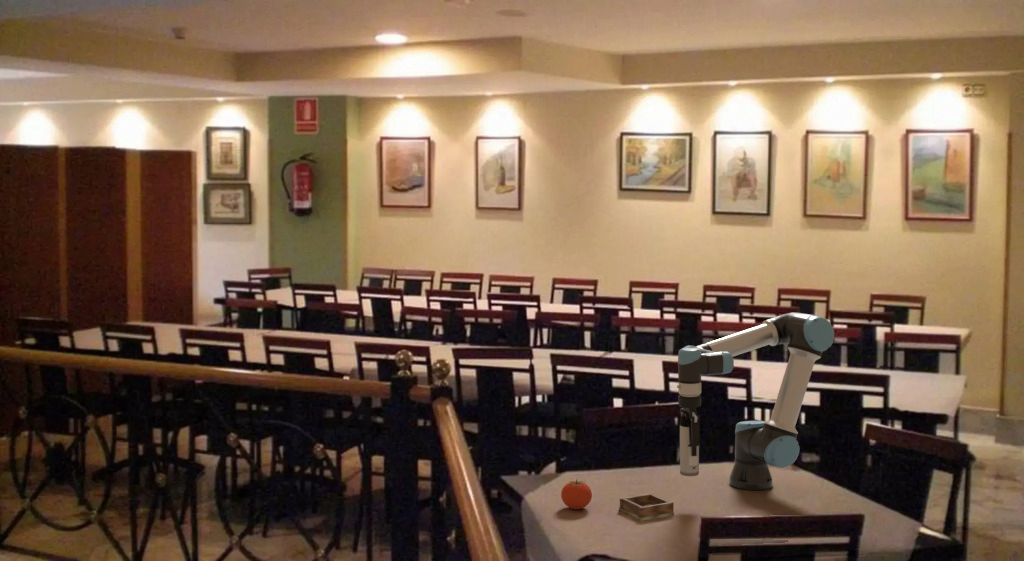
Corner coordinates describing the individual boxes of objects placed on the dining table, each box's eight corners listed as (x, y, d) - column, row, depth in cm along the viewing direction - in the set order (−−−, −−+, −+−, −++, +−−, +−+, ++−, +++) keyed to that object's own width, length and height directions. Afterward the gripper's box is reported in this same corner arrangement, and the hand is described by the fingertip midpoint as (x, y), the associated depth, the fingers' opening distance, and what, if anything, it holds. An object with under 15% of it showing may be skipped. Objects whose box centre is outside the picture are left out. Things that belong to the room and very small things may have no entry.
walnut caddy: (651, 504, 352) (651, 492, 352) (674, 515, 340) (674, 502, 340) (618, 509, 346) (618, 498, 346) (641, 520, 334) (641, 508, 334)
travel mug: (699, 476, 347) (699, 417, 345) (679, 476, 348) (679, 417, 346) (700, 471, 353) (699, 413, 351) (680, 471, 354) (680, 413, 352)
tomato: (555, 506, 350) (556, 477, 349) (583, 502, 354) (583, 473, 353) (569, 514, 340) (569, 484, 340) (597, 511, 344) (597, 481, 344)
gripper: (670, 389, 357) (670, 455, 359) (687, 400, 338) (687, 470, 340) (691, 388, 358) (692, 454, 360) (709, 399, 339) (709, 469, 341)
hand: (689, 462), depth 350 cm, fingers closed on travel mug, 6 cm apart
